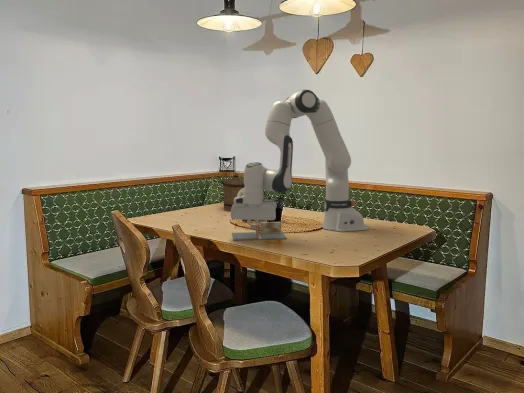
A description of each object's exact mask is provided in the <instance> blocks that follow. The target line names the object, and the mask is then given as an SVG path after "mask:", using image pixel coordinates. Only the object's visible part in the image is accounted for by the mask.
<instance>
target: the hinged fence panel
mask: <svg viewBox="0 0 524 393" xmlns="http://www.w3.org/2000/svg"><path fill="white" fill-rule="evenodd" d="M255 232H256V238H259V222H258V224H257V226H256V230H255Z"/></svg>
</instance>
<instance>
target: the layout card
mask: <svg viewBox="0 0 524 393" xmlns="http://www.w3.org/2000/svg"><path fill="white" fill-rule="evenodd" d="M231 236H232V241H262V240H263V241H266V240H269V241H270V240H271V241H273V240H287V237H286V234H285V233H284V231H282V230H281V233H259V238H256V231H254V232H253V231H252V232H247V231H245V232H232V233H231Z"/></svg>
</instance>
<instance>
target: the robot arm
mask: <svg viewBox="0 0 524 393" xmlns="http://www.w3.org/2000/svg"><path fill="white" fill-rule="evenodd" d="M303 116H306V117H307V118H308V119H309V122H310V123H311V126H312V128H313V131H314V134H315V136H316V139H317V142H318V144H319V146H320V149H321V150H322V153H323V155H324V158H325V161H324V162H325V164H324V165H325V169H324V170H325V199H324V217H323V223H322V226H321V227H322V228H323V229H325V230H329V231H337V232H341V233H342V232H343V233H344V232H352V231H353V232H354V231H355V232H356V231H368V230H369V225H368V224H366V223H364V222H365V221H364V217H363V215H362V214H361V213H360V212H359V211H357V209H355V208H354V207H353V206H356V202H355V201H353V200H351V199H349V194H350V193H349V189H350V182H349V181H350V180H349V168H350V167H351V164H352V158H351V155H350V152H349V150H348V148H347V145H346V143H345V141H344V138H343V137H342V134H341V133H340V130H339V126H338V124H337V122H336V119H335V117H334V114H333V112H332V110H331V108H330V106H329V105H328V103H327V102H326V100H324V99H319V97H318V96H317V94H316V93H315V92H313V91H312V90H310V89H302V90H299V91H296V92H295V93H293V94H291V95H290V96H288V97H287V98H286V99H285V100H283V101H282V100H279V101H275V102H274V103H273V104H272V106H271V109H270V110H269V113H268V116H267V120H266V124H265V129H264V133H265V134H264V135H265V137H266V138H267V140H268V141H269V142H270V143H272V144H273V145H275V146H277V147H278V148H279V150H280V157H279V166H278V167H279V168H278V169H270V168H267V167H265V166H264V165H263V164H262V163H261V162H249V163H247V164H246V165H245V166H244V172H243V178H244V186H245V188H244V195H241V196H238V197H235V198H234V204H233V205H232V208H231V211H230V218H231V220H240V221H241V220H248V222H247V224H248V225H249V230H255V231H256V226H257V224H258V222H259V220H260V221H275V220H276V218H277V215H276V214H277V213H276V209H277V206H278V205H277V204H278V203H277V202H276V200H274V199H267V198H266V199H265V198H264V191H270V192H276V193H279V194H285V193H286V192H288V191H289V190H290V189H291V187H292V185H293V175H292V171H293V170H292V169H293V152H294V142H293V138H292V137H291V135H290V129H291V123H292V120H293V119H297V118H300V117H303ZM251 220H255V222H254V223H255V224H252V222H251Z"/></svg>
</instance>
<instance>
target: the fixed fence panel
mask: <svg viewBox="0 0 524 393" xmlns="http://www.w3.org/2000/svg"><path fill="white" fill-rule="evenodd" d="M260 221H261V220H259V233H281V231H282V221H270V222H269V221H267V222H266V221H264V222H262V221H261V222H260Z"/></svg>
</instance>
